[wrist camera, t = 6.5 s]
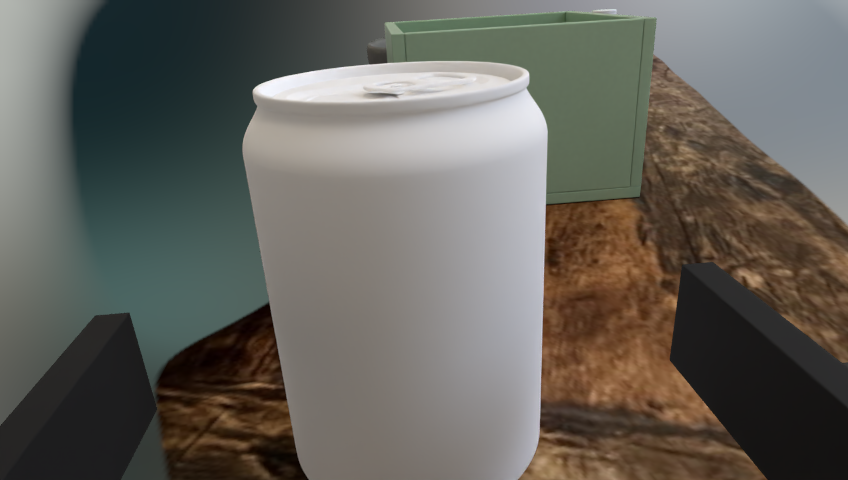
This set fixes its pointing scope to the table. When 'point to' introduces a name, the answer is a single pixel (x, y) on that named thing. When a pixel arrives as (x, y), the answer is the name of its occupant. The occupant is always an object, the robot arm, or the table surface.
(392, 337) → the beverage can
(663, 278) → the table surface
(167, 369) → the table surface
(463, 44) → the open storage box
